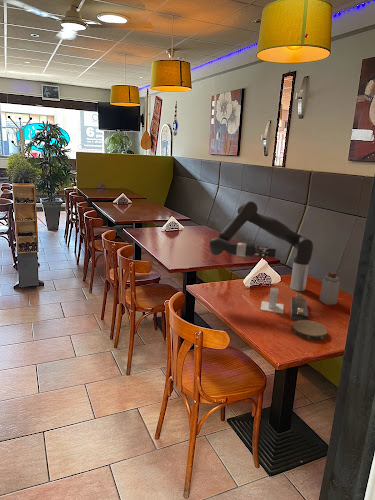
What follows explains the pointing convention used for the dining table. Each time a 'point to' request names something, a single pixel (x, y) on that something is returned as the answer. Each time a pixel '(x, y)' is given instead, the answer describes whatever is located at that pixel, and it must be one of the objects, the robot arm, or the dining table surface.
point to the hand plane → (299, 308)
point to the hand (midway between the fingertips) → (275, 253)
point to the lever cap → (273, 298)
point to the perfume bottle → (330, 289)
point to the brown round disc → (309, 330)
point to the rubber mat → (265, 308)
